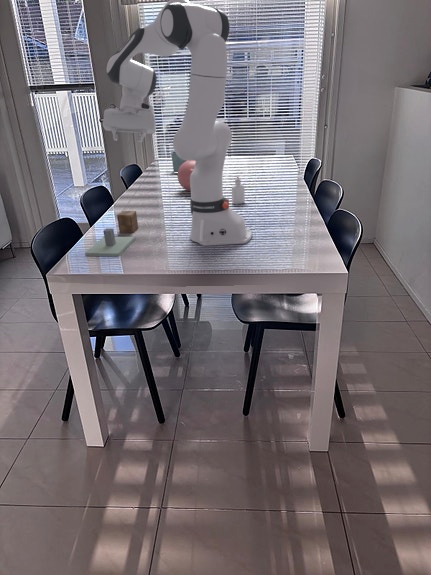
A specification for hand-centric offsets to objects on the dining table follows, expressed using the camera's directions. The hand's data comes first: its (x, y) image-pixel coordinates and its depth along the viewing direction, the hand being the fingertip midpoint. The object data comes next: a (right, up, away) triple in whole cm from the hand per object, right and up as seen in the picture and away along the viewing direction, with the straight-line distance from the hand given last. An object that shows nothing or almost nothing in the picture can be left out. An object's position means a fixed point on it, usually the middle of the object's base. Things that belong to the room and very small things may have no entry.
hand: (127, 140), depth 164 cm
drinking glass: (+13, +14, +98) cm, 100 cm away
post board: (-3, -42, -13) cm, 44 cm away
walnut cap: (0, -34, +2) cm, 34 cm away
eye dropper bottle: (+44, -18, +30) cm, 56 cm away
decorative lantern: (+23, -8, +52) cm, 57 cm away
